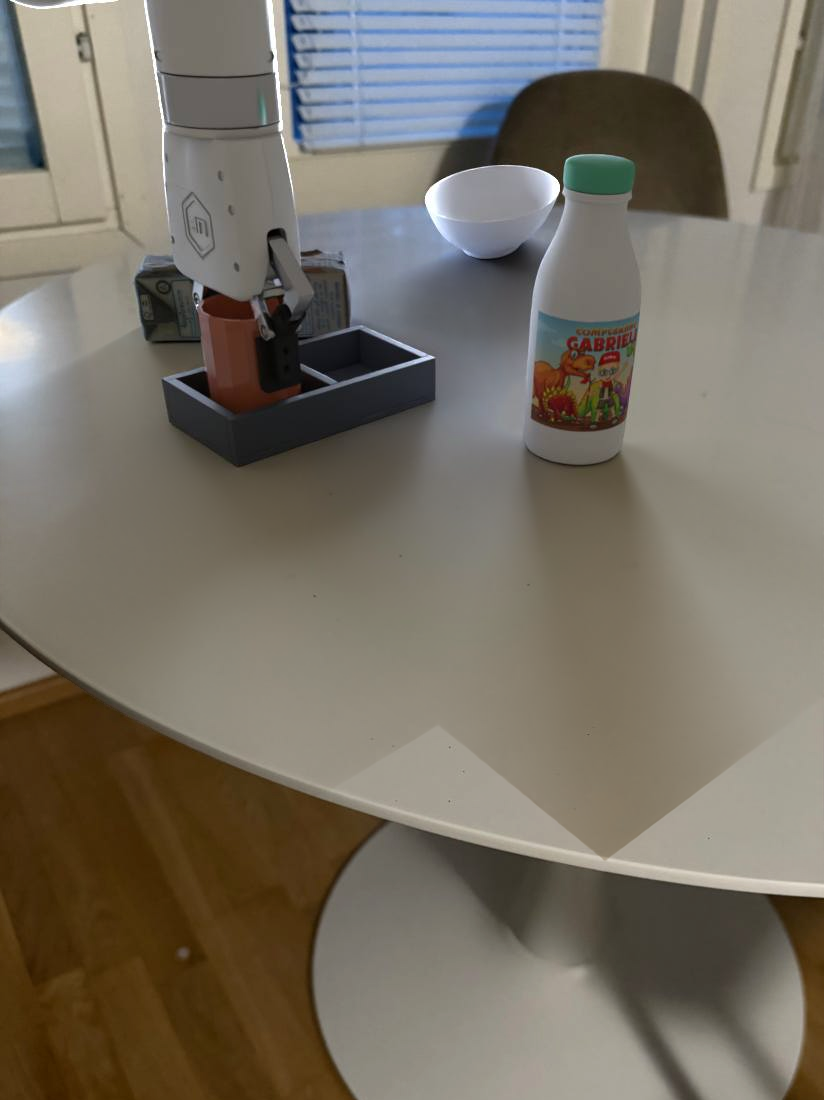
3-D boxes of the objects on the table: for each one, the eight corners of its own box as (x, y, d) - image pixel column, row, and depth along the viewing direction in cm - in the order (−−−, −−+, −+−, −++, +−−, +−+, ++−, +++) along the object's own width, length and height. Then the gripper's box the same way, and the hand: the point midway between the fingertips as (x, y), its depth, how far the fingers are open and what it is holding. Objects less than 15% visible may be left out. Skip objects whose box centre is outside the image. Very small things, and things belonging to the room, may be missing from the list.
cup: (195, 407, 74) (178, 302, 69) (270, 385, 77) (259, 284, 73) (243, 436, 70) (229, 328, 65) (319, 412, 74) (311, 307, 69)
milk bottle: (501, 439, 74) (516, 154, 62) (572, 415, 78) (599, 143, 66) (571, 477, 69) (601, 177, 57) (643, 449, 73) (685, 164, 61)
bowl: (461, 210, 130) (462, 161, 127) (570, 220, 128) (574, 170, 124) (399, 272, 107) (398, 215, 103) (530, 286, 105) (534, 228, 101)
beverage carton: (153, 315, 93) (141, 244, 89) (351, 313, 96) (348, 244, 92) (142, 344, 87) (129, 270, 83) (354, 341, 90) (351, 269, 86)
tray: (168, 422, 74) (161, 377, 72) (362, 364, 85) (360, 324, 83) (237, 467, 69) (231, 420, 67) (435, 399, 79) (435, 357, 77)
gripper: (102, 90, 64) (150, 351, 75) (244, 130, 54) (276, 423, 65) (202, 82, 68) (233, 330, 79) (350, 117, 58) (363, 395, 69)
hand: (252, 370), depth 72 cm, fingers closed on cup, 6 cm apart
